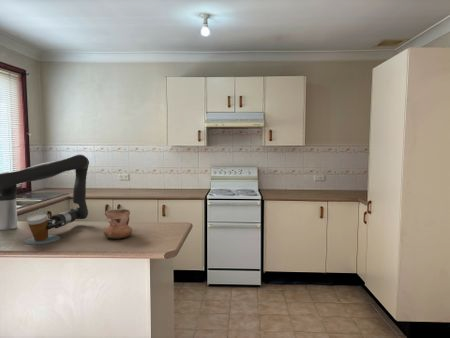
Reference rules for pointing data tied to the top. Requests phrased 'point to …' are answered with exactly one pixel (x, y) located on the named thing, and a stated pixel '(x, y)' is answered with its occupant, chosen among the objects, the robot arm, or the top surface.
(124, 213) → the ceramic jug
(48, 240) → the mat
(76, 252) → the top surface
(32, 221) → the disposable coffee cup
